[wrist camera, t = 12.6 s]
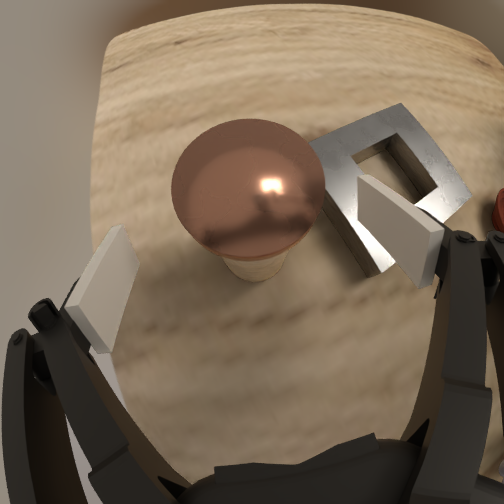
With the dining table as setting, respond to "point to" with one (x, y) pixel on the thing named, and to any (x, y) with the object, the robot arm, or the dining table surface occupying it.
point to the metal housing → (410, 160)
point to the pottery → (499, 212)
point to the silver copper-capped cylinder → (248, 193)
